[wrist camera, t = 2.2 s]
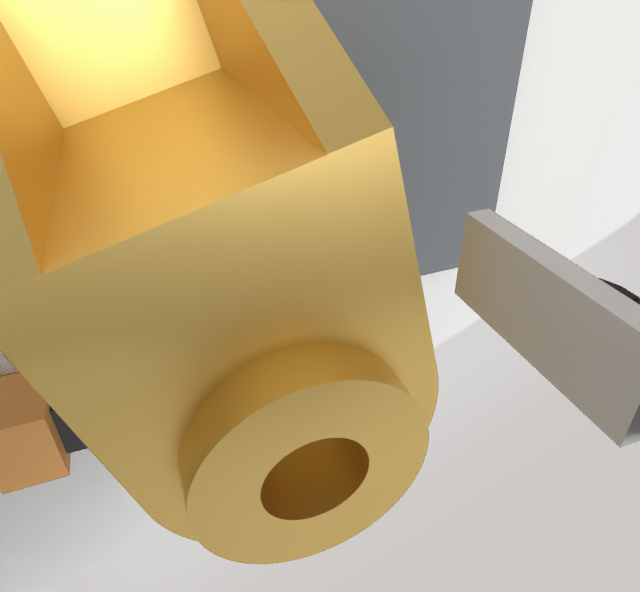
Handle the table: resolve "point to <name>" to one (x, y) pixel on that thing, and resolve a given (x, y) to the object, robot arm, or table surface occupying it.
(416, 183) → the mat
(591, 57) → the table surface
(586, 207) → the table surface
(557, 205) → the table surface
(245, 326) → the gold clevis bracket
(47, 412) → the dark grey bar
